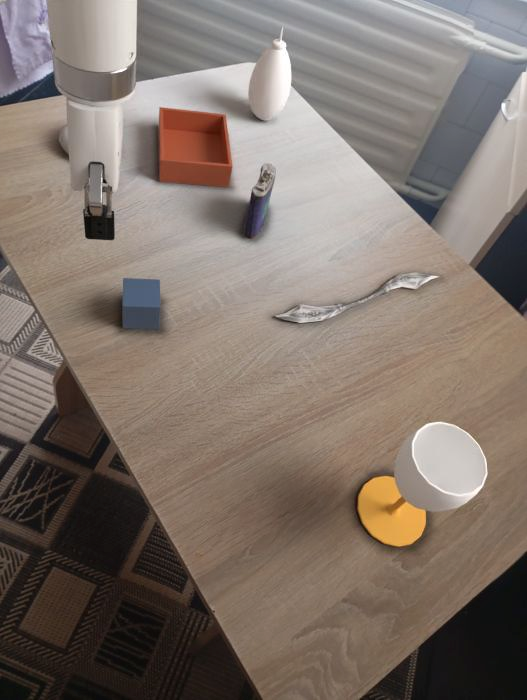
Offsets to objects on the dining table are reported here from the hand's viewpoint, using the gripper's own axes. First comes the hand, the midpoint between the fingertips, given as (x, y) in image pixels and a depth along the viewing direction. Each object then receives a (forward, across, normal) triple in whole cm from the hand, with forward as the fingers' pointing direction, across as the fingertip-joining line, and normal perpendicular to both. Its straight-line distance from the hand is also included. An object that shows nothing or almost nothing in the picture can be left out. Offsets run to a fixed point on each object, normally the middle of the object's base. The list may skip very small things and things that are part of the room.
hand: (101, 208), depth 67 cm
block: (+17, +2, +5) cm, 18 cm away
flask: (+18, -19, +24) cm, 35 cm away
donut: (+18, -35, -4) cm, 39 cm away
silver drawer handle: (+17, -2, +40) cm, 44 cm away
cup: (+18, +32, +36) cm, 51 cm away
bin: (+17, -35, +14) cm, 41 cm away
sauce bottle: (+18, -50, +29) cm, 60 cm away
